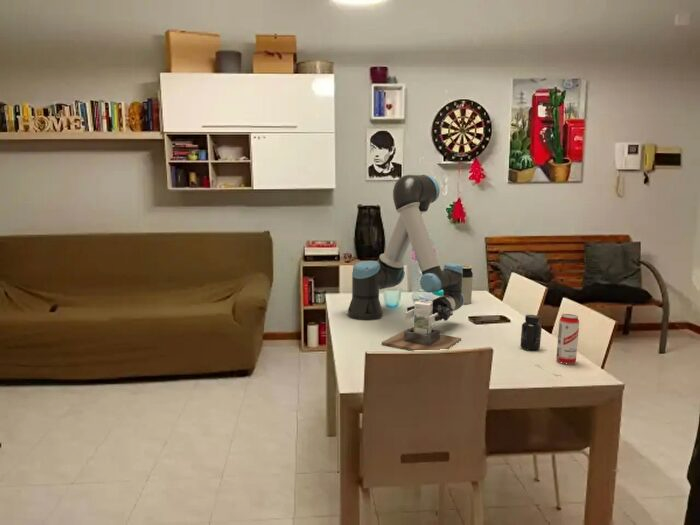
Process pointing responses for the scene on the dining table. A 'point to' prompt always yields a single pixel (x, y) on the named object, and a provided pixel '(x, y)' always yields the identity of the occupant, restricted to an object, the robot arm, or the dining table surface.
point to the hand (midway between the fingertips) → (417, 318)
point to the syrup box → (422, 317)
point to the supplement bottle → (531, 333)
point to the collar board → (421, 340)
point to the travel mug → (467, 283)
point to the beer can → (567, 338)
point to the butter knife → (553, 373)
